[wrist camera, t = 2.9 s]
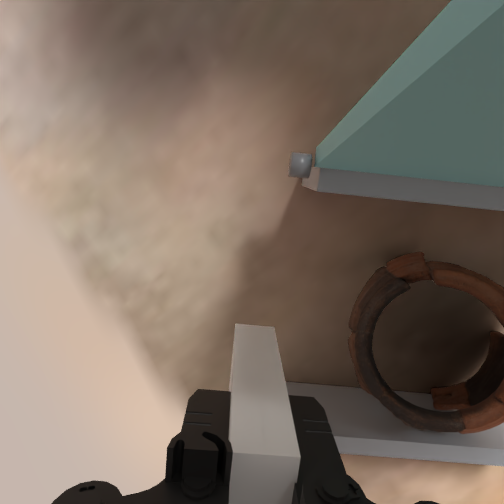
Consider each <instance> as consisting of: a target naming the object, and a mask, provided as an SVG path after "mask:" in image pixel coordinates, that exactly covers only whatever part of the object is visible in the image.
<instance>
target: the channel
mask: <svg viewBox="0 0 504 504" xmlns="http://www.w3.org/2000/svg"><path fill="white" fill-rule="evenodd" d="M311 166H312V154H306V153H297V152H291V156H290V161H289V169H288V176H289V177H297V178H303V179H302V186H303V187H306V188H309V189H311V190H314V191H317V192H326V193H336V194H345V195H355V196H364V197H374V198H383V199H393V200H402V201H412V202H421V203H431V204H440V205H450V206H459V207H469V208H478V209H488V210H497V211H504V187H495V186H486V185H477V184H467V183H458V182H449V181H440V180H430V179H421V178H412V177H402V176H393V175H384V174H374V173H365V172H356V171H347V170H337V169H328V168H315V167H311ZM286 387H287V392H288V395H295V396H308V397H314V398H315V399H316V400H317V401H318V402H319V403H320V404H321V405H322V407H323V408H324V410H325V413H326V415H327V418H328V423H329V424H330V427H331V430H332V434H333V436H334V439H335V442H336V445H337V448H338V451H339V453H340V454H353V455H366V456H379V457H391V458H404V459H417V460H430V461H443V462H456V463H469V464H481V465H494V466H504V423H502V424H500V425H498V426H496V427H493V428H491V429H488V430H485V431H481V432H476V433H468V434H461V433H459V432H436V431H430V430H418V429H416V428H413V427H410V426H407V425H405V424H404V423H403V422H402V420H400V419H398V418H397V417H395V416H394V415H393V414H392V412H391V411H389V410H388V409H387V408H386V407H384V406H383V405H382V404H381V403H380V401H379V400H378V399H376V398H375V397H374V396H372V395H370V394H368V393H367V392H366V391H365V390H363V389H362V388H356V387H344V386H332V385H320V384H308V383H297V382H286ZM394 392H395V393H396V394H397V395H399V396H400V397H401V398H403V399H404V400H406V401H408V402H410V403H412V404H414V405H416V406H419V407H422V408H425V409H428V410H433V411H441V412H452V411H457V409H454V410H436V409H435V408H434V406H433V398H432V395H431V394H426V393H414V392H403V391H394Z"/></svg>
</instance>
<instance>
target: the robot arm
mask: <svg viewBox="0 0 504 504" xmlns="http://www.w3.org/2000/svg"><path fill="white" fill-rule="evenodd" d="M52 504H375V503H373V502H372V501H370V500H368V499H367V498H366V496H365V494H364V492H363V491H362V489H361V487H360V486H359V484H358V483H357V482H355V481H354V480H353V479H352V478H351V477H350V476H348V475H347V474H346V471H345V468H344V465H343V462H342V459H341V456H340V454H339V451H338V448H337V445H336V442H335V439H334V436H333V434H332V430H331V427H330V424H329V423H328V418H327V415H326V413H325V410H324V408H323V407H322V405H321V404H320V403H319V402H318V401H317V400H316V399H315V398H314V397H308V396H295V395H288V392H287V387H286V382H285V377H284V372H283V367H282V362H281V357H280V352H279V347H278V342H277V337H276V332H275V327H271V326H259V325H248V324H236V323H235V333H234V343H233V353H232V363H231V373H230V383H229V391H216V390H204V389H198V390H197V391H196V392H195V393H194V394H193V395H192V396H191V397H190V398H189V400H188V405H187V409H186V414H185V417H184V421H183V426H182V430H181V432H180V433H179V434H177V435H176V436H175V437H174V438H172V440H171V442H170V444H169V445H168V447H167V461H166V476H165V479H164V480H163V481H162V482H160V483H159V484H158V485H156V486H154V487H152V488H151V489H149V490H146V491H142V492H139V493H135V494H130V495H126V496H122V494H121V493H120V491H119V490H118V489H117V487H115V486H114V485H112V484H110V483H108V482H103V481H90V482H84V483H80V484H78V485H76V486H74V487H72V488H70V489H68V490H66V491H65V492H64V493H62V494H61V495H60V496H59V497H58V498H57V499H55V500H54V501H53V503H52ZM415 504H439V503H436V502H433V501H419V502H417V503H415Z"/></svg>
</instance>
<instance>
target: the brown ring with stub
mask: <svg viewBox="0 0 504 504" xmlns="http://www.w3.org/2000/svg"><path fill="white" fill-rule="evenodd" d="M421 280H433V281H434V283H435V284H436V285H438V286H444V287H451V288H455V289H458V290H461V291H464V292H466V293H468V294H470V295H472V296H474V297H475V298H477V299H478V300H480V301H481V302H483V303H484V304H485V305H486V306H487V307H488V308H489V309H490V310H491V311H492V312H493V313H494V314H495V316H496V317H497V319H498V320H499V322H500V323H501V324H502V326H503V327H504V288H503V287H502V286H500V285H498V284H496V283H495V282H493V281H492V280H490V279H489V278H487V277H485V276H483V275H481V274H478V273H476V272H474V271H471V270H469V269H466V268H464V267H461V266H459V265H455V264H451V263H445V262H438V261H429V262H425V259H424V253H423V252H414V253H409V254H406V255H403V256H400V257H397V258H395V259H393V260H391V261H389V262H387V266H386V267H381V268H379V269H378V270H377V271H376V272H375V273H374V274H373V276H372V277H371V278H370V279H369V281H368V282H367V284H366V285H365V287H364V288H363V290H362V291H361V293H360V295H359V296H358V298H357V300H356V303H355V305H354V307H353V310H352V314H351V317H350V320H349V328H350V329H351V330H352V333H351V335H350V337H349V339H348V344H349V351H350V355H351V358H352V362H353V364H354V368H355V371H356V375H357V378H358V382H359V384H360V386H361V388H362V389H363V390H365V391H366V392H367V393H368V394H370V395H372V396H374V397H375V398H376V399H378V400H379V401H380V403H381V404H382V405H383V406H384V407H386V408H387V409H388V410H389V411H391V412H392V414H393V415H394V416H395V417H397V418H398V419H400V420H402V422H403V423H404V424H405V425H407V426H410V427H413V428H416V429H418V430H430V431H436V432H459V433H461V434H468V433H476V432H481V431H485V430H488V429H491V428H493V427H496V426H498V425H500V424H502V423H504V334H502V333H500V332H496V331H492V332H491V333H490V347H489V352H488V355H487V358H486V360H485V362H484V363H483V365H482V366H481V368H480V369H479V371H478V372H477V373H476V374H475V375H474V376H473V377H471V378H470V379H468V380H467V381H466V382H462V383H460V384H457V385H452V386H448V387H441V388H432V389H431V395H432V398H433V406H434V408H435V409H436V410H454V409H457V411H452V412H441V411H433V410H428V409H425V408H422V407H419V406H416V405H414V404H412V403H410V402H408V401H406V400H404V399H403V398H401V397H400V396H399V395H397V394H396V393H395V392H394V391H392V390H391V388H390V387H389V386H388V385H387V383H386V382H385V381H384V379H383V378H382V376H381V375H380V373H379V371H378V369H377V366H376V364H375V360H374V356H373V351H372V339H373V331H374V329H375V325H376V322H377V320H378V318H379V316H380V314H381V313H382V311H383V310H384V308H385V307H386V306H387V305H388V304H389V303H390V302H391V301H392V300H393V299H395V298H396V297H397V296H399V295H401V294H403V293H404V292H406V291H408V290H409V289H410V285H409V283H413V282H416V281H421Z"/></svg>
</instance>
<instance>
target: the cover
mask: <svg viewBox="0 0 504 504" xmlns="http://www.w3.org/2000/svg"><path fill="white" fill-rule="evenodd" d="M314 167H319V168H329V169H338V170H347V171H357V172H366V173H375V174H384V175H394V176H403V177H412V178H422V179H431V180H440V181H449V182H459V183H468V184H477V185H487V186H496V187H504V0H451V1H450V2H449V3H448V5H447V6H446V7H445V8H444V9H443V10H442V11H441V12H440V13H439V14H438V15H437V17H436V18H435V19H434V20H433V21H432V22H431V23H430V24H429V25H428V26H427V27H426V28H425V30H424V31H423V32H422V33H421V34H420V35H419V36H418V37H417V38H416V39H415V40H414V42H413V43H412V44H411V45H410V46H409V47H408V48H407V49H406V50H405V51H404V52H403V54H402V55H401V56H400V57H399V58H398V59H397V60H396V61H395V62H394V63H393V64H392V66H391V67H390V68H389V69H388V70H387V71H386V72H385V73H384V74H383V75H382V76H381V78H380V79H379V80H378V81H377V82H376V83H375V84H374V85H373V86H372V87H371V88H370V90H369V91H368V92H367V93H366V94H365V95H364V96H363V97H362V98H361V99H360V100H359V102H358V103H357V104H356V105H355V106H354V107H353V108H352V109H351V110H350V111H349V112H348V113H347V115H346V116H345V117H344V118H343V119H342V120H341V121H340V122H339V123H338V124H337V125H336V127H335V128H334V129H333V130H332V131H331V132H330V133H329V134H328V135H327V136H326V137H325V139H324V140H323V141H322V142H321V143H320V144H319V145H318V146H317V147H316V155H315V164H314Z"/></svg>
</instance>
